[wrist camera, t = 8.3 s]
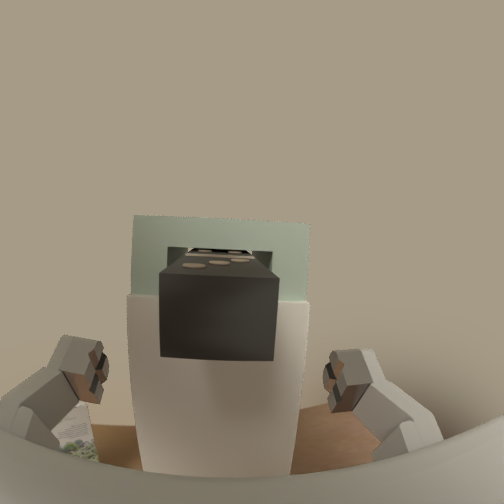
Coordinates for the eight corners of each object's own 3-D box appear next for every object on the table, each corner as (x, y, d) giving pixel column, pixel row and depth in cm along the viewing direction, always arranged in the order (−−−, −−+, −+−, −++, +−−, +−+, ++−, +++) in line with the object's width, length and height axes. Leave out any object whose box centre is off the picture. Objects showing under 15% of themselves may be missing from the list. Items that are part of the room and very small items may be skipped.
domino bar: (160, 357, 10) (159, 270, 10) (193, 285, 24) (194, 246, 24) (273, 361, 10) (280, 275, 10) (243, 287, 24) (245, 248, 24)
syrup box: (88, 467, 29) (68, 381, 29) (109, 490, 26) (87, 401, 26) (55, 476, 25) (28, 387, 25) (73, 502, 21) (41, 411, 21)
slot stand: (161, 545, 19) (129, 213, 18) (173, 473, 33) (166, 227, 32) (275, 547, 20) (314, 222, 20) (259, 475, 34) (275, 233, 34)
